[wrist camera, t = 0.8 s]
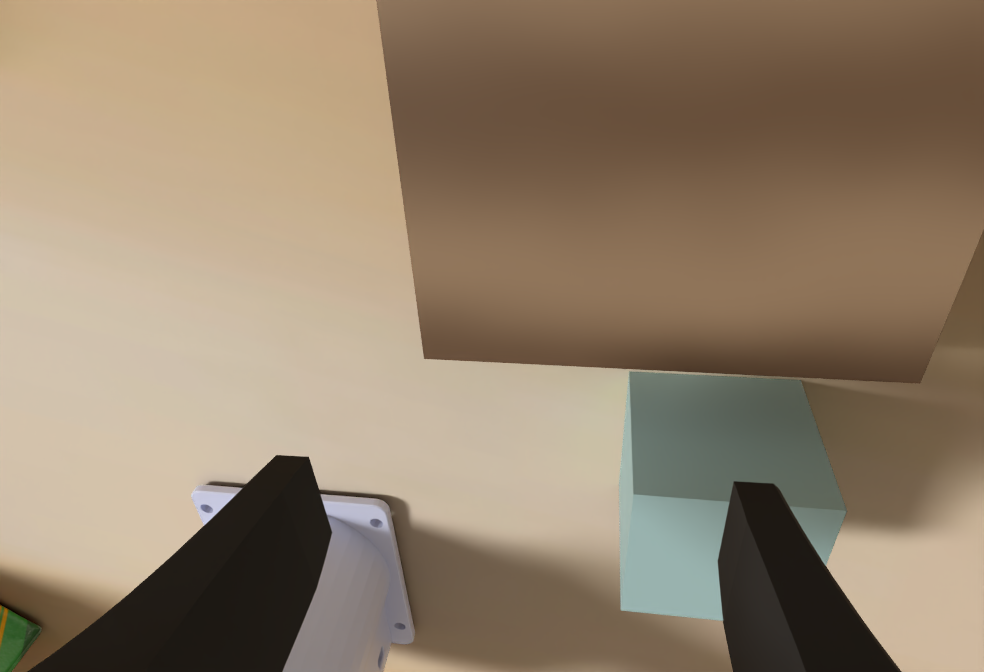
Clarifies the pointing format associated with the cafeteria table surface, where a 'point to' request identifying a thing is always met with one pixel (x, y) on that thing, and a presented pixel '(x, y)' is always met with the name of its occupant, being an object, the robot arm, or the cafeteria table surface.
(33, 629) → the chalk box
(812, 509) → the teal cube
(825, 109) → the walnut base
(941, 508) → the cafeteria table surface
